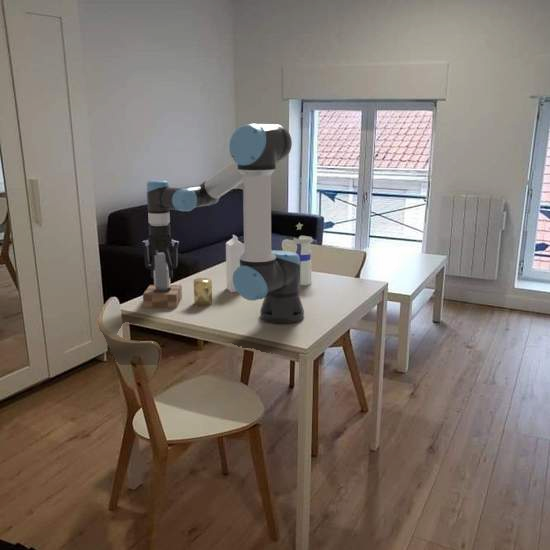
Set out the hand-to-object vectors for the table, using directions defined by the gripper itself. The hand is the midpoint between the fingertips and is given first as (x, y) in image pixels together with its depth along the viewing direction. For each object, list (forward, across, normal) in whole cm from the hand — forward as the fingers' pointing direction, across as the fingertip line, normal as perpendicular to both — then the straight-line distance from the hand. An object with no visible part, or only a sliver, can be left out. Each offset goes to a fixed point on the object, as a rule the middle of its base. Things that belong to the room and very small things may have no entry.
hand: (162, 286), depth 209 cm
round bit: (+6, -15, +1) cm, 16 cm away
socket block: (+6, 0, 0) cm, 6 cm away
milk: (+7, -26, -17) cm, 32 cm away
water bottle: (+7, -53, -27) cm, 60 cm away
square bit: (+2, 0, 0) cm, 2 cm away
